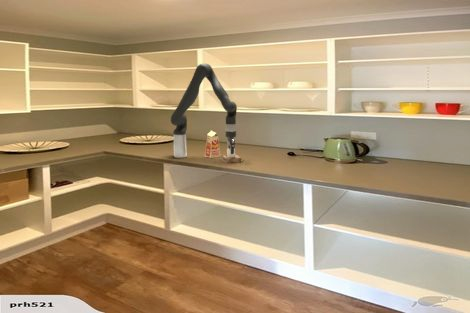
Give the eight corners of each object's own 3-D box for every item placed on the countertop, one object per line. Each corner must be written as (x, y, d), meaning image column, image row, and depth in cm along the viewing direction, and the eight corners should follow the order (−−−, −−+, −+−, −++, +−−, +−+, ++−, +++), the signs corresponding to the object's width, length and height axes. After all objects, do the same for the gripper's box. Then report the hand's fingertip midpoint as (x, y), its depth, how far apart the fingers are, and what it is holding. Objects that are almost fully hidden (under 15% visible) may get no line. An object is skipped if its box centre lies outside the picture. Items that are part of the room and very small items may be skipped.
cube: (228, 157, 269) (228, 149, 268) (226, 156, 274) (226, 147, 273) (235, 157, 270) (235, 148, 269) (233, 155, 275) (233, 147, 274)
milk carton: (204, 156, 290) (203, 130, 286) (214, 155, 295) (214, 129, 291) (211, 158, 282) (210, 131, 279) (221, 156, 288) (220, 130, 284)
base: (224, 162, 266) (224, 158, 265) (221, 159, 277) (221, 155, 277) (241, 161, 268) (241, 157, 268) (237, 158, 280) (237, 154, 279)
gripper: (223, 129, 275) (223, 151, 278) (227, 131, 261) (227, 155, 264) (233, 129, 276) (234, 151, 279) (238, 131, 262) (238, 154, 266)
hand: (231, 152), depth 272 cm, fingers open, 8 cm apart
